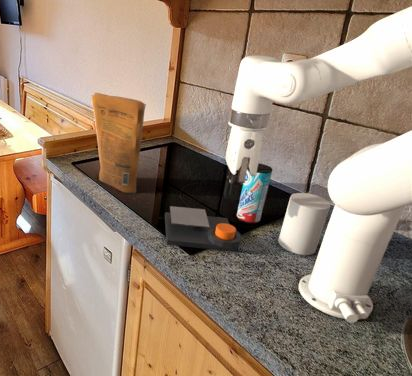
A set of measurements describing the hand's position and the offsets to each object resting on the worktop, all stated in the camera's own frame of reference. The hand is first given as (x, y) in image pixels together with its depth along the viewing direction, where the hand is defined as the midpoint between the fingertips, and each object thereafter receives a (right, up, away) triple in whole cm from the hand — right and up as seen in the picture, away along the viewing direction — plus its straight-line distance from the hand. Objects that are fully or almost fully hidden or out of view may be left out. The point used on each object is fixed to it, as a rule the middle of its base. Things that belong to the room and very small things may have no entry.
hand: (231, 197), depth 91 cm
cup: (+18, -12, +6) cm, 22 cm away
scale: (-5, -9, +10) cm, 14 cm away
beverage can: (+11, -6, +17) cm, 21 cm away
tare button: (0, -9, +4) cm, 10 cm away
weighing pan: (-7, -5, +11) cm, 14 cm away
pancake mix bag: (-23, +3, +35) cm, 42 cm away
